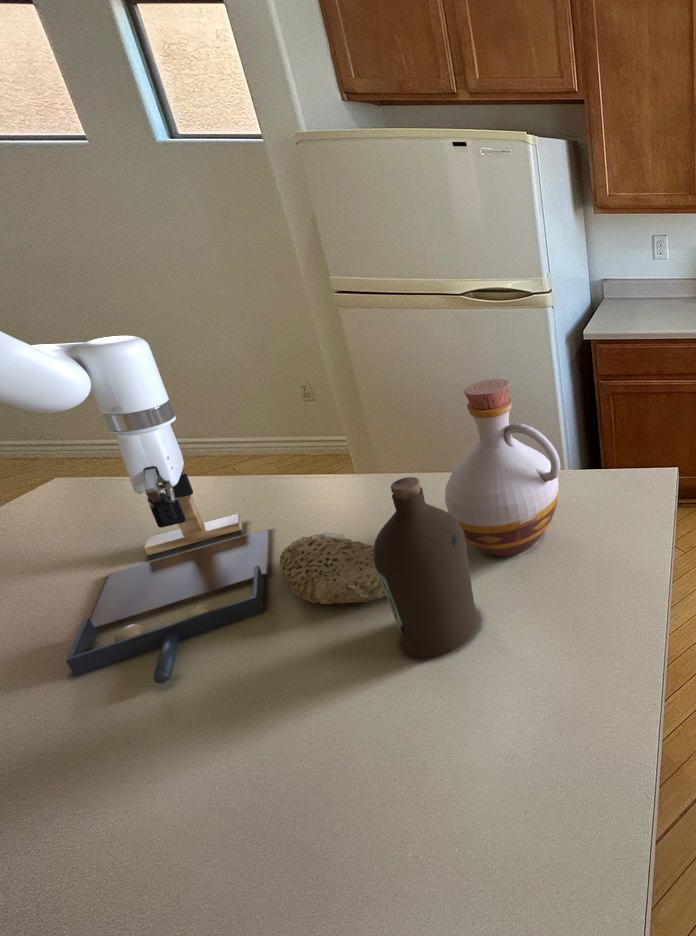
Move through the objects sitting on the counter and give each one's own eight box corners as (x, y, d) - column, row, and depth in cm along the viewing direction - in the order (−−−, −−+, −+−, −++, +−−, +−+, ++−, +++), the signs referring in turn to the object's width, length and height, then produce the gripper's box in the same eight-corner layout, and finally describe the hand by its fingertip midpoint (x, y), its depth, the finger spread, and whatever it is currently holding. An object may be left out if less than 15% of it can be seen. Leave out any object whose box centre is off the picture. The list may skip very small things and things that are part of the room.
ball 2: (179, 631, 76) (185, 614, 79) (206, 633, 78) (211, 617, 81) (188, 615, 76) (194, 599, 78) (215, 618, 78) (221, 602, 80)
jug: (589, 519, 103) (575, 370, 92) (545, 586, 87) (521, 415, 76) (493, 508, 107) (468, 361, 95) (434, 569, 90) (394, 402, 79)
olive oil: (481, 597, 85) (452, 455, 75) (483, 649, 76) (451, 496, 66) (403, 617, 81) (361, 470, 71) (396, 675, 72) (347, 516, 62)
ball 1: (105, 633, 74) (124, 639, 76) (110, 649, 72) (129, 655, 75) (132, 616, 75) (149, 623, 77) (137, 632, 74) (155, 639, 76)
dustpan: (94, 636, 77) (83, 618, 76) (265, 581, 87) (258, 564, 86) (56, 732, 64) (43, 713, 63) (261, 655, 74) (254, 636, 73)
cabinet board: (89, 636, 77) (85, 630, 76) (112, 579, 87) (109, 573, 87) (269, 579, 88) (266, 573, 87) (270, 534, 98) (268, 528, 98)
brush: (244, 526, 100) (228, 484, 96) (243, 536, 97) (226, 493, 94) (154, 551, 93) (132, 507, 90) (150, 563, 91) (128, 517, 87)
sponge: (277, 587, 88) (309, 632, 75) (271, 540, 87) (302, 577, 74) (371, 560, 97) (413, 595, 84) (366, 518, 96) (408, 546, 83)
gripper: (118, 403, 90) (155, 493, 96) (90, 443, 77) (135, 544, 83) (180, 394, 94) (212, 481, 100) (164, 431, 81) (201, 528, 87)
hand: (177, 509), depth 92 cm, fingers open, 9 cm apart
